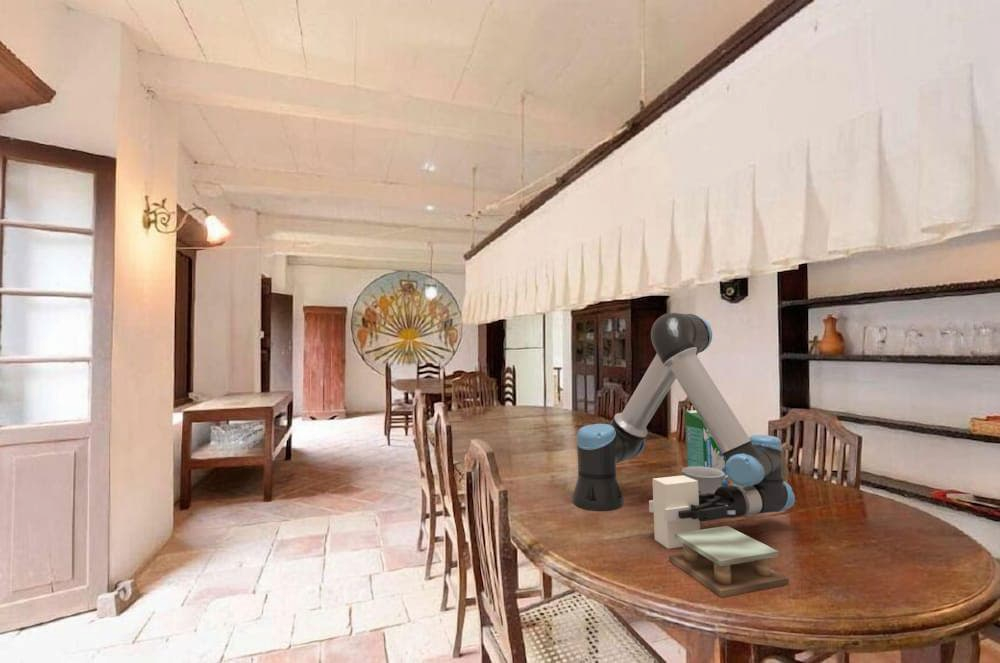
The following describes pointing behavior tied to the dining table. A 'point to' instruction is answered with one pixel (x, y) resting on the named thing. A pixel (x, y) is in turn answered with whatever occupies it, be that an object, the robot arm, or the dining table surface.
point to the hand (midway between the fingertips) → (657, 510)
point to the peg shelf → (737, 576)
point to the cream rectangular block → (670, 496)
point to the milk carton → (702, 445)
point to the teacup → (706, 478)
